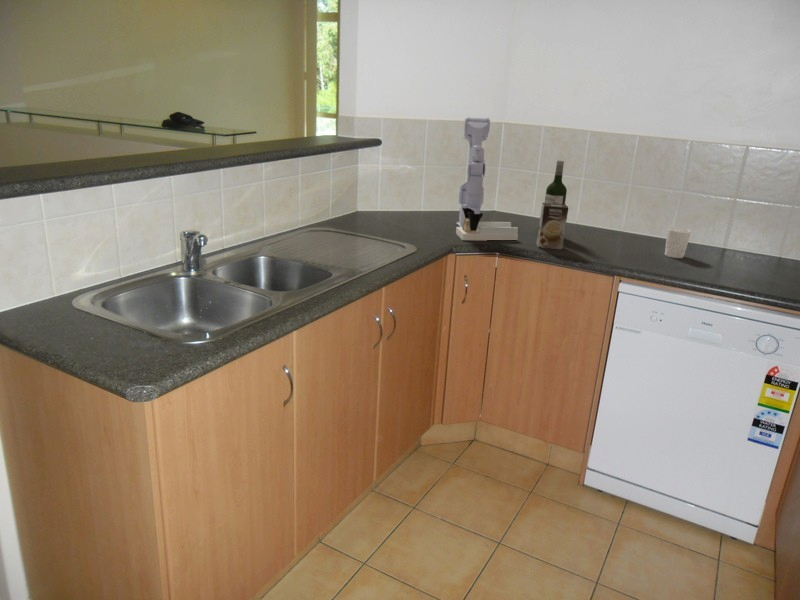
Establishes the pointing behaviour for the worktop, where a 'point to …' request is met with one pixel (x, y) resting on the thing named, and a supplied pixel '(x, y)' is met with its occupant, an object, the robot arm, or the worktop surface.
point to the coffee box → (552, 226)
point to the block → (466, 225)
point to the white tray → (490, 232)
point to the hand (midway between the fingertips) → (470, 228)
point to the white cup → (676, 242)
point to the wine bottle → (556, 187)
